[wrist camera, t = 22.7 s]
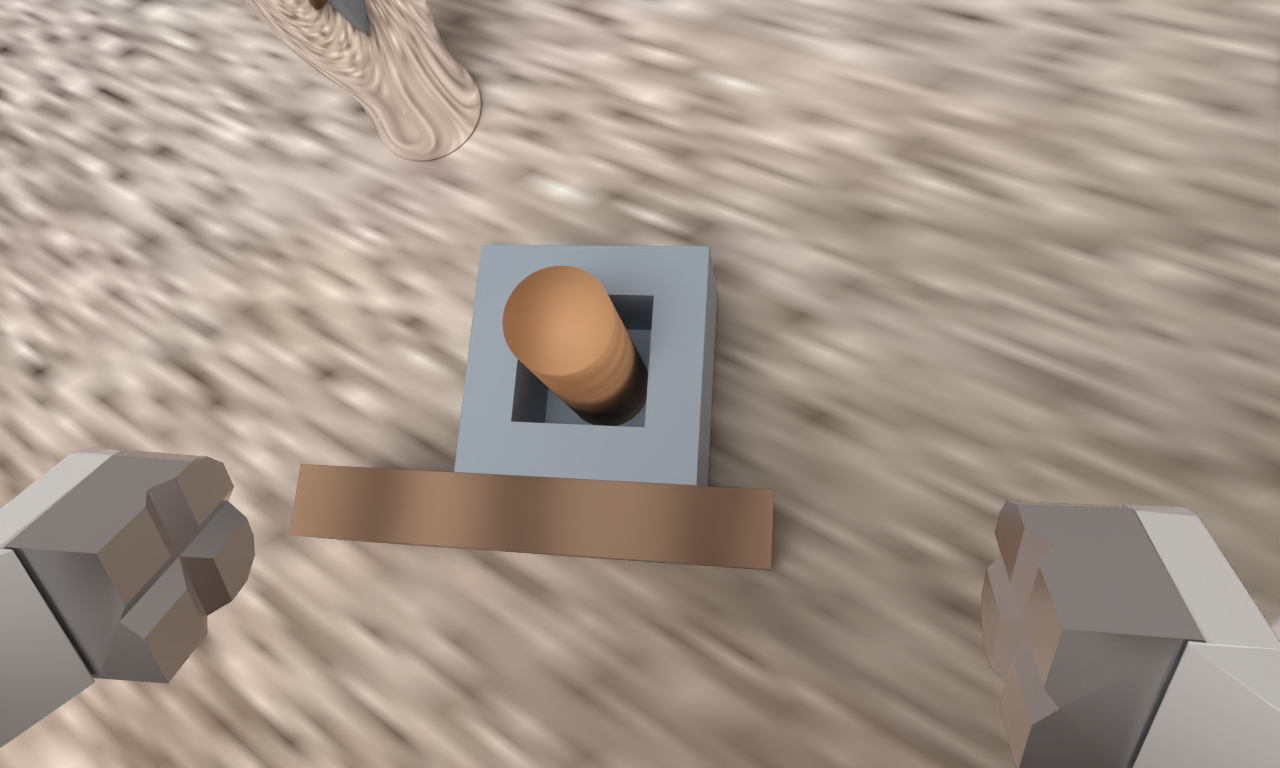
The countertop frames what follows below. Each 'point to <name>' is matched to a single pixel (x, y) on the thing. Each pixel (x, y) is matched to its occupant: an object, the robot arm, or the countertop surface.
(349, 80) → the beer glass
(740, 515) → the backstop wall
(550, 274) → the dowel
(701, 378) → the socket block
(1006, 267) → the countertop surface
